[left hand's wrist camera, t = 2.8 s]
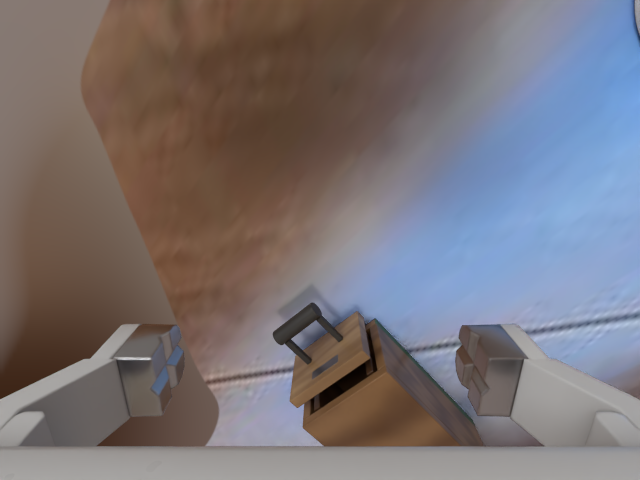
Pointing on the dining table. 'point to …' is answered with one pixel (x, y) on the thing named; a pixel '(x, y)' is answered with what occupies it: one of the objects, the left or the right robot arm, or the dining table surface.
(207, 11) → the dining table surface
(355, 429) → the cabinet
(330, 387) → the drawer
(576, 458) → the left robot arm
